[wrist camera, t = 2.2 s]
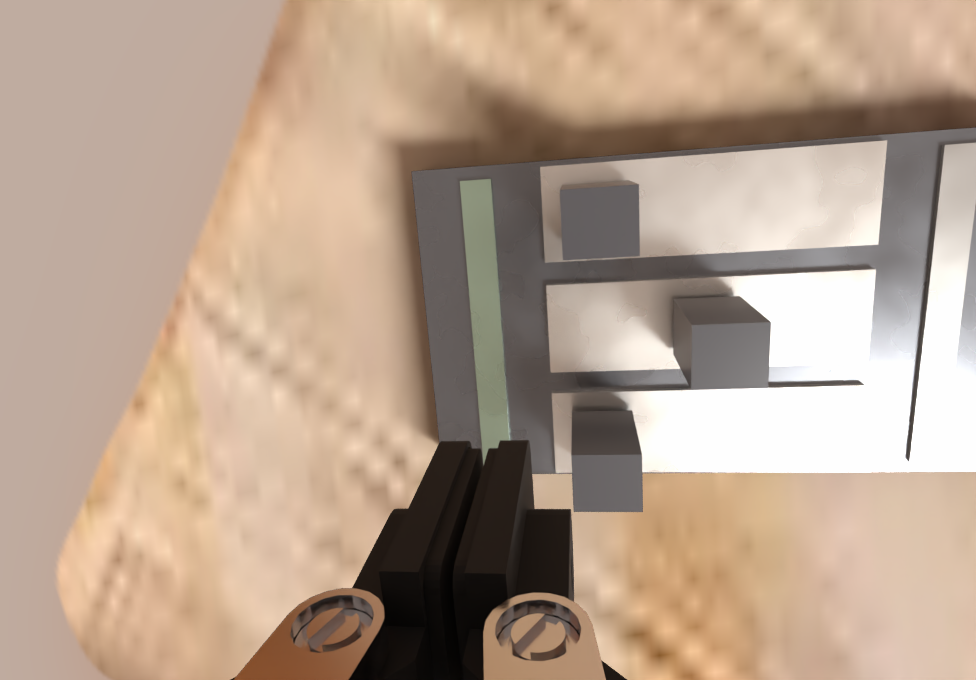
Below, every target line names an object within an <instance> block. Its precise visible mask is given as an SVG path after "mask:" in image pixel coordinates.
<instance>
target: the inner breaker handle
mask: <svg viewBox="0 0 976 680" xmlns="http://www.w3.org/2000/svg"><path fill="white" fill-rule="evenodd" d="M571 460H572V482H573V505H574V512H643V489H642V452H641V448H640V443H639V439H638V434H637V430H636V425H635V421H634V417H633V412H632V410H629V411H579V412H572V442H571Z"/></svg>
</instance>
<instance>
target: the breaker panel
mask: <svg viewBox="0 0 976 680" xmlns="http://www.w3.org/2000/svg"><path fill="white" fill-rule="evenodd" d="M624 180H629V181H632V182H635V183H637V184H639V231H640V256H635V257H617V258H598V259H580V260H563V254H562V231H561V208H560V188H561V186H562V185H568V184H582V183H596V182H610V181H624ZM412 181H413V191H414V200H415V210H416V220H417V230H418V239H419V249H420V259H421V268H422V278H423V288H424V297H425V307H426V317H427V327H428V336H429V346H430V356H431V365H432V375H433V385H434V394H435V404H436V414H437V424H438V433H439V443H440V442H441V441H470V443H471V446H472V448H481V451H482V457H483V466H484V462H485V459H486V455H487V452H488V449H489V448H498V445H499V442H500V440H529V442H530V449H531V464H532V474H572V460H571V442H572V412H579V411H629V410H632V412H633V417H634V421H635V425H636V430H637V434H638V439H639V443H640V448H641V452H642V473H782V472H963V471H976V128H963V129H950V130H937V131H924V132H911V133H898V134H886V135H873V136H860V137H847V138H834V139H821V140H809V141H796V142H783V143H770V144H757V145H744V146H731V147H719V148H706V149H693V150H680V151H667V152H654V153H641V154H629V155H616V156H603V157H590V158H577V159H564V160H552V161H539V162H526V163H513V164H500V165H487V166H474V167H462V168H449V169H436V170H423V171H412ZM729 296H740V297H741V298H743V299H744V300H745V301H746V302H747V303H749V304H750V305H751V306H752V307H753V308H755V309H756V310H757V311H758V312H759V313H761V314H762V315H763V316H764V317H766V318H767V319H768V320H769V321H770V322H771V337H770V359H769V382H768V388H757V389H715V390H691V389H690V387H689V385H688V383H687V381H686V379H685V377H684V375H683V373H682V371H681V369H680V367H679V365H678V363H677V361H676V359H675V357H674V355H673V299H685V298H707V297H729Z"/></svg>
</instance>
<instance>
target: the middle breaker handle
mask: <svg viewBox="0 0 976 680" xmlns="http://www.w3.org/2000/svg"><path fill="white" fill-rule="evenodd" d="M770 337H771V322H770V321H769V320H768V319H767V318H766V317H764V316H763V315H762V314H761V313H759V312H758V311H757V310H756V309H755V308H753V307H752V306H751V305H750V304H749V303H747V302H746V301H745V300H744V299H743V298H741V297H740V296H729V297H707V298H685V299H673V355H674V357H675V359H676V361H677V363H678V365H679V367H680V369H681V371H682V373H683V375H684V377H685V379H686V381H687V383H688V385H689V387H690V389H691V390H715V389H757V388H768V382H769V359H770Z"/></svg>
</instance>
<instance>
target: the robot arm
mask: <svg viewBox="0 0 976 680" xmlns="http://www.w3.org/2000/svg"><path fill="white" fill-rule="evenodd" d="M231 680H627V679H625V678H624V677H623V676H621V675H620V674H619V673H617V672H616V671H615V670H613V669H612V668H611V667H609V666H608V665H607V664H606V663H604V662H603V661H602V660H601V657H600V653H599V649H598V645H597V641H596V637H595V633H594V629H593V625H592V623H591V621H590V619H589V616H588V614H587V613H586V612H585V611H584V610H583V609H582V608H581V607H580V606H579V605H578V604H577V603H575V602H574V568H573V541H572V520H571V509H534V496H533V480H532V464H531V449H530V442H529V440H500V442H499V445H498V448H489V449H488V452H487V455H486V459H485V462H484V466H483V457H482V451H481V448H472V446H471V443H470V441H441V442H440V443H439V445H438V447H437V449H436V451H435V453H434V456H433V458H432V460H431V462H430V464H429V466H428V468H427V470H426V472H425V475H424V477H423V479H422V481H421V483H420V485H419V487H418V489H417V492H416V494H415V496H414V498H413V500H412V502H411V504H410V506H409V508H408V509H394V510H393V511H392V513H391V514H390V516H389V518H388V520H387V522H386V524H385V526H384V527H383V529H382V531H381V533H380V535H379V537H378V539H377V541H376V543H375V545H374V547H373V549H372V551H371V553H370V555H369V557H368V559H367V560H366V562H365V564H364V566H363V568H362V570H361V572H360V574H359V576H358V578H357V580H356V582H355V584H354V586H353V588H341V589H336V590H330V591H326V592H323V593H321V594H318V595H315V596H313V597H311V598H309V599H307V600H306V601H304V602H302V603H301V604H299V605H298V606H297V607H296V608H295V609H294V610H292V611H291V612H290V613H289V614H288V615H287V616H286V618H285V619H284V620H283V621H282V622H281V624H280V625H279V626H278V627H277V628H276V630H275V631H274V632H273V633H272V634H271V635H270V637H269V638H268V639H267V640H266V641H265V643H264V644H263V645H262V646H261V647H260V649H259V650H258V651H257V652H256V653H255V655H254V656H253V657H252V658H251V659H250V661H249V662H248V663H247V664H246V665H245V667H244V668H243V669H242V670H241V671H240V673H239V674H238V675H237V676H236V677H235V678H233V679H231Z"/></svg>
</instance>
